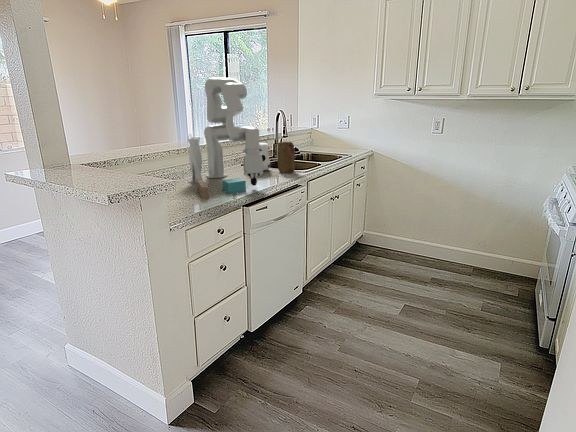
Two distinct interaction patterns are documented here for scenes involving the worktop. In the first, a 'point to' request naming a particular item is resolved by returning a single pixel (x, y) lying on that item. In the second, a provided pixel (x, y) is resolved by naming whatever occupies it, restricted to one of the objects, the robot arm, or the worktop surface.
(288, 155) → the block
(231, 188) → the teal block
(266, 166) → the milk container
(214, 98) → the robot arm
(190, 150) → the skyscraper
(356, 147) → the worktop surface
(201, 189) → the walnut board
